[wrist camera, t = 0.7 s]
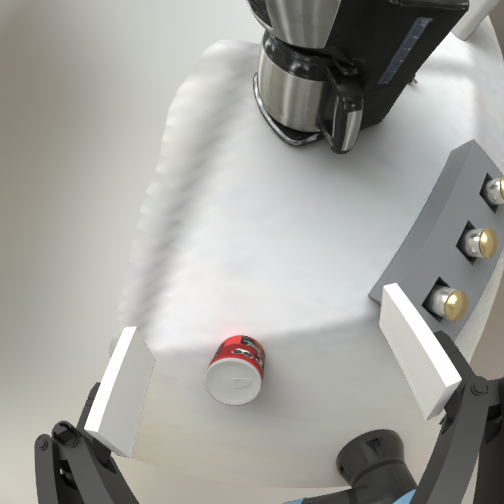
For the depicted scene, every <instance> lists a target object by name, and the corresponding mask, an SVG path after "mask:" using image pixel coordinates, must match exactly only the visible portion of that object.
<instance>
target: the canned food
mask: <svg viewBox="0 0 504 504" xmlns="http://www.w3.org/2000/svg"><path fill="white" fill-rule="evenodd" d="M263 370H264V351H263V349H262V347H261V345H260V344H259V343H258V342H257V341H256V340H254V339H253V338H251V337H248V336H233V337H231V338H228V339H227V340H225V341H224V342H223V343H222V344H221V346H220V347H219V349H218V351H217V352H216V354H215V356H214V358H213V360H212V361H211V363H210V365H209V367H208V369H207V371H206V373H205V377H204V384H205V387H206V390H207V391H208V393H209V394H210V395H211V396H212V397H213V398H214V399H215V400H217V401H219V402H221V403H223V404H226V405H234V406H237V405H243V404H247V403H249V402H251V401H252V400H254V399H255V398H256V397H257V396H258V394H259V392H260V390H261V386H262V381H263Z"/></svg>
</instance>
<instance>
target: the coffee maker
mask: <svg viewBox="0 0 504 504" xmlns="http://www.w3.org/2000/svg"><path fill="white" fill-rule="evenodd" d="M247 4H248V6H249V8H250V10H251V12H252V13H253V15H254V16H255V18H256V19H257V20H258V22H259V23H260V24H261V25H262V26H263V27H264V28H265V29H266V30H265V32H264V34H263V37H262V41H261V46H260V52H259V60H258V71H257V72H256V73H255V74H254V77H253V83H254V84H253V87H254V94H255V98H256V101H257V103H258V106H259V108H260V111H261V113H262V114H263V116H264V118H265V119H266V121H267V122H268V124H269V125H270V126H271V127H272V129H273V130H274V131H275V132H276V133H277V134H278V135H279V136H280V137H281V138H282V139H283V140H284V141H285V142H287V143H288V144H290V145H295V146H300V145H305V144H308V143H311V142H314V141H317V140H320V139H323V138H326V139H327V140H328V142H329V143H330V144H331V150H333V152H335V153H337V154H346V153H347V152H349V151H350V149H351V148H352V147H353V145H354V144H355V141H356V139H357V137H358V134H359V131H360V130H362V129H364V128H366V127H369V126H371V125H375V124H377V123H379V122H381V121H382V120H383V119H384V118H385V116H386V115H387V114H388V112H389V111H390V109H391V107H392V106H393V104H394V103H395V101H396V100H397V98H398V97H399V95H400V94H401V92H402V91H403V89H404V88H405V86H406V85H407V83H409V82H412V81H414V82H415V83H418V82H417V81H416V80H415V79H414V77H415V73H416V72H417V71H418V69H419V68H420V67H421V65H422V64H423V63H424V62H425V61H426V59H427V58H428V57H429V56H430V55H431V53H432V52H433V51H434V50H435V49H436V47H437V46H438V45H439V44H440V43H441V42H442V40H443V39H444V38H445V37H446V36H447V35H448V33H449V32H450V31H451V30H452V29H453V27H454V26H455V25H456V24H457V23H458V22H459V20H460V19H461V18H462V17H463V16H464V14H465V13H466V12H467V11H468V10H469V5H470V4H469V0H247Z"/></svg>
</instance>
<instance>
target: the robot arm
mask: <svg viewBox="0 0 504 504" xmlns="http://www.w3.org/2000/svg"><path fill="white" fill-rule="evenodd" d="M379 326H380V328H381V330H382V332H383V334H384V336H385V338H386V339H387V341H388V343H389V345H390V347H391V349H392V351H393V353H394V355H395V357H396V359H397V361H398V363H399V365H400V367H401V369H402V371H403V373H404V375H405V377H406V379H407V381H408V383H409V385H410V388H411V390H412V392H413V394H414V396H415V398H416V401H417V403H418V405H419V407H420V410H421V412H422V414H423V416H424V419H425V421H426V420H428V419H431V418H433V417H435V416H437V415H439V414H440V413H441V411H442V410H443V409H445V411H446V414H445V416H444V417H443V419H442V420H441V422H440V423H439V424H440V425H441V424H442V423H443V424H442V427H441V430H440V433H439V436H438V439H437V442H436V445H435V447H434V450H433V453H432V455H431V458H430V460H429V462H428V465H427V467H426V470H425V472H424V474H423V476H422V478H421V481H420V483H419V485H418V486H417V484H416V482H415V480H414V479H413V477H412V475H411V473H410V471H409V470H408V468H407V466H406V464H405V462H404V449H403V442H402V440H401V439H400V437H399V435H398V434H397V433H396V432H394V431H391V430H385V429H383V430H375V431H371V432H368V433H365V434H363V435H361V436H359V437H357V438H355V439H354V440H352V441H351V442H349V443H348V444H347V445H346V446H345V447H344V448H343V449H342V450H341V452H340V453H339V455H338V457H337V467H338V471H339V473H340V475H341V476H342V477H343V478H344V479H345V480H346V481H347V482H348V484H349V485H350V486H351V487H352V489H348V490H344V491H340V492H336V493H332V494H327V495H322V496H318V497H312V498H302V499H299V500H294V501H289V502H285V503H283V504H461V502H462V499H463V497H464V494H465V492H466V489H467V486H468V484H469V481H470V478H471V476H472V472H473V470H474V466H475V463H476V460H477V457H478V453H479V463H478V473H477V482H476V488H475V494H474V500H473V504H504V377H503V378H500V379H495V380H490V381H487V380H486V379H485V378H483V377H481V376H476V375H475V374H474V372H473V371H472V369H471V368H470V366H469V364H468V363H467V361H466V360H465V358H464V357H463V355H462V354H461V352H459V349H458V348H457V346H456V345H455V343H454V342H453V341H452V339H451V338H450V336H449V335H447V334H446V333H444V332H443V331H442V330H440V331H437V332H434V333H432V332H431V330H430V329H429V327H428V326H427V324H426V323H425V321H424V320H423V319H422V317H421V316H420V314H419V313H418V312H417V310H416V309H415V307H414V306H413V305H412V303H411V302H410V301H409V299H408V298H407V297H406V295H405V294H404V293H403V291H402V290H401V289H400V287H399V286H398V285H397V283H394V284H389V285H385V286H383V295H382V304H381V312H380V320H379ZM155 361H156V360H155V358H154V356H153V355H152V353H151V351H150V350H149V348H148V346H147V345H146V343H145V341H144V340H143V338H142V336H141V334H140V332H139V331H138V329H137V327H128V328H125V329H124V331H123V333H122V335H121V337H120V340H119V342H118V344H117V346H116V349H115V351H114V353H113V356H112V358H111V360H110V363H109V365H108V368H107V370H106V372H105V375H104V377H103V380H102V382H101V383H98V382H97V383H96V384H95V385H94V387H93V388H92V389H91V391H90V393H89V396H88V400H87V401H86V403H85V406H84V408H83V411H82V414H81V416H80V419H79V422H78V425H77V427H76V428H75V427H74V426H72V425H71V424H70V423H69V422H67V421H61V422H58V423H57V424H56V425H55V426H54V428H53V430H52V438H51V437H50V436H49V435H47V434H42V435H40V436H39V437H38V438H37V439H36V441H35V473H36V485H37V495H38V503H39V504H139V502H138V501H137V499H136V498H135V496H134V495H133V493H132V492H131V490H130V488H129V486H128V485H127V483H126V481H125V479H124V478H123V476H122V474H121V472H120V471H119V469H118V467H117V465H116V463H115V461H114V459H113V458H112V457H111V456H110V455H111V451H112V452H114V453H115V454H116V455H118V456H122V457H128V458H131V456H132V451H133V446H134V442H135V438H136V433H137V429H138V425H139V421H140V417H141V413H142V409H143V405H144V401H145V397H146V393H147V390H148V386H149V382H150V379H151V375H152V371H153V368H154V364H155ZM60 469H61V470H62V474H61V473H60Z"/></svg>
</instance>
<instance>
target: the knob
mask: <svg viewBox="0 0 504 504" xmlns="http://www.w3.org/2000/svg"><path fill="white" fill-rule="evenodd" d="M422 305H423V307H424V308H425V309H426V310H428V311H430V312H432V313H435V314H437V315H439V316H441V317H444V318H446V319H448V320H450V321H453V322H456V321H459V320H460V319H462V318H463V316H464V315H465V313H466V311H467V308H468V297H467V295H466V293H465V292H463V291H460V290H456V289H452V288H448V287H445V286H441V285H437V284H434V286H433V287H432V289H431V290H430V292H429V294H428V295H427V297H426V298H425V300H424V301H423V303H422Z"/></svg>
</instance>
